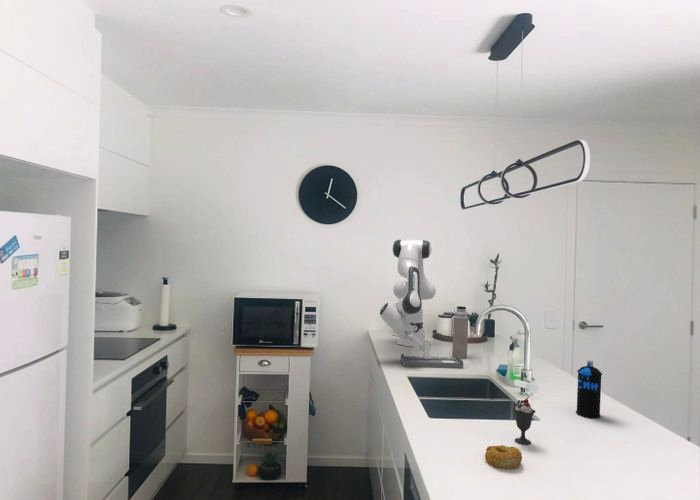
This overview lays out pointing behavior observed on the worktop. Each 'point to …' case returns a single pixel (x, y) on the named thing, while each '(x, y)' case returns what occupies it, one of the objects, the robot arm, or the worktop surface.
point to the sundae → (523, 419)
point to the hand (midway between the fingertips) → (422, 349)
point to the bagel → (503, 457)
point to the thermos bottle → (460, 333)
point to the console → (431, 362)
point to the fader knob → (426, 349)
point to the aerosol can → (589, 391)
